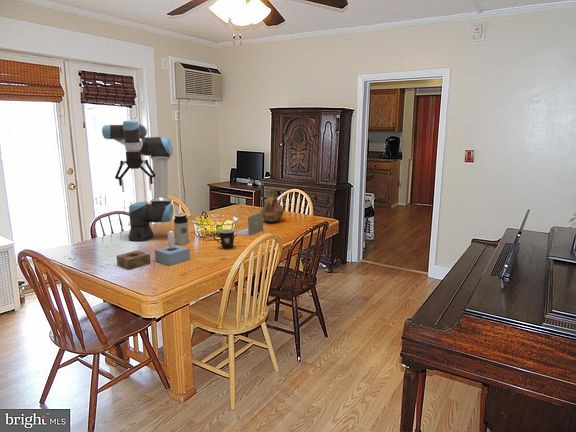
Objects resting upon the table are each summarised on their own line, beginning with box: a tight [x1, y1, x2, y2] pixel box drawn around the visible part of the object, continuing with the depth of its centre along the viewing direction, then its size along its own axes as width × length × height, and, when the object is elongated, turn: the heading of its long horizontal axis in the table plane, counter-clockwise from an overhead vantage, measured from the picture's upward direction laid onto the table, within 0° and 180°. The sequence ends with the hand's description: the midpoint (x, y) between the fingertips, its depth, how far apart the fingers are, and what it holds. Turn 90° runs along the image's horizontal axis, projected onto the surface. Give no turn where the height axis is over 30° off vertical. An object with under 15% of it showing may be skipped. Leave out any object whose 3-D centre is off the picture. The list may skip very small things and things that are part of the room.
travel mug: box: [173, 212, 190, 246], centre depth 252 cm, size 8×8×18 cm
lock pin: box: [167, 229, 176, 251], centre depth 221 cm, size 3×3×15 cm
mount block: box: [116, 250, 151, 271], centre depth 216 cm, size 12×12×5 cm
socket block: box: [154, 243, 191, 266], centre depth 222 cm, size 13×13×6 cm
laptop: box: [235, 211, 264, 237], centre depth 278 cm, size 18×12×13 cm
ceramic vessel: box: [259, 187, 285, 223], centre depth 306 cm, size 17×26×25 cm, turn 172°
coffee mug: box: [212, 228, 235, 250], centre depth 243 cm, size 12×9×10 cm
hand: (136, 191), depth 221 cm, fingers open, 13 cm apart
